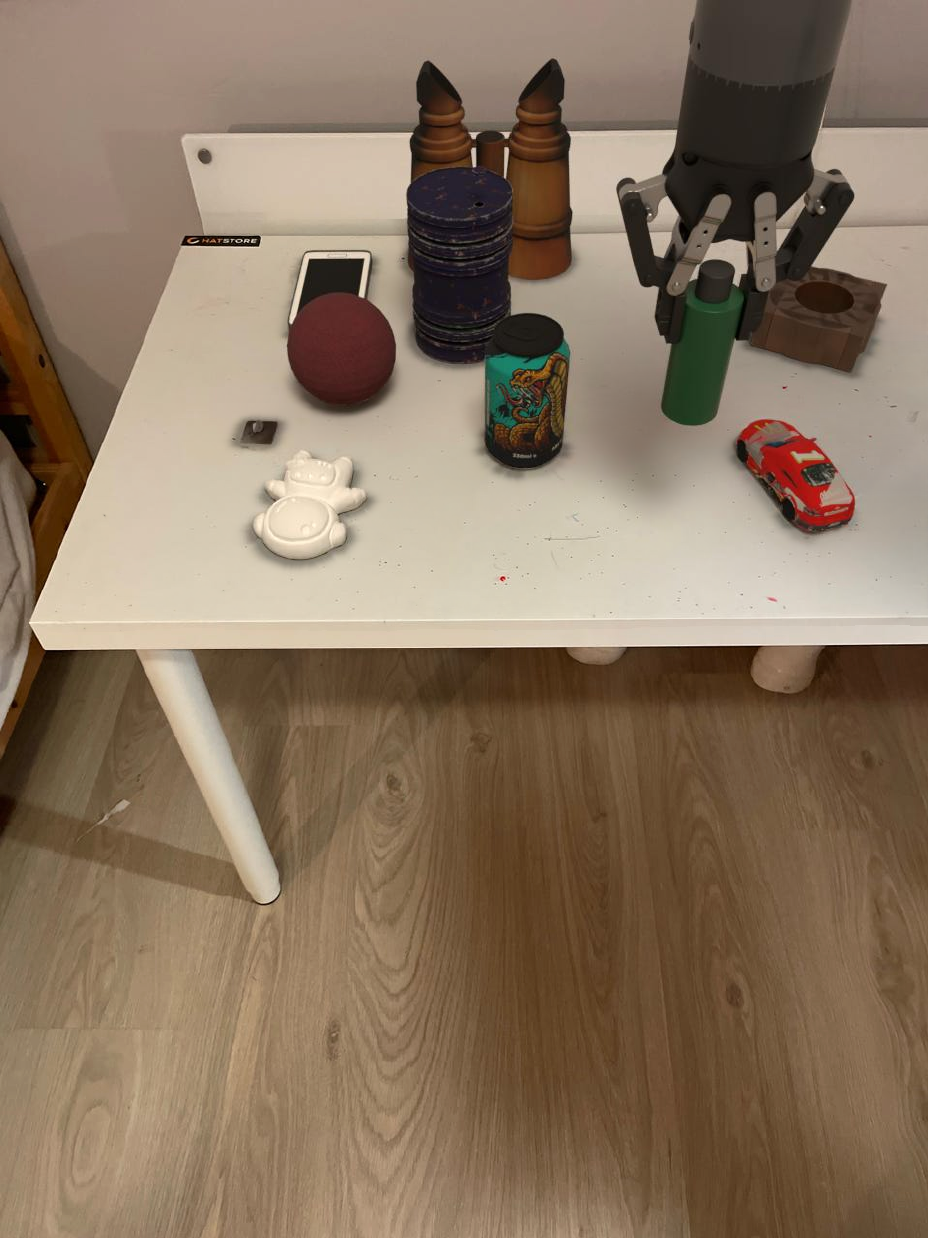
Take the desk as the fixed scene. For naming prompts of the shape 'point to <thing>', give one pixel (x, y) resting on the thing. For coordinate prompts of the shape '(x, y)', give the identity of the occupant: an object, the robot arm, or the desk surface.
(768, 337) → the ashtray
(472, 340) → the dark blue cylinder
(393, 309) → the desk surface
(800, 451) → the race car
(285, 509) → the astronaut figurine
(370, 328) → the decorative ball
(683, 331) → the bottle
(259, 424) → the dark square tile
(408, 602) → the desk surface
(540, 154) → the binoculars
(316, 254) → the cell phone
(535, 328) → the beverage can
